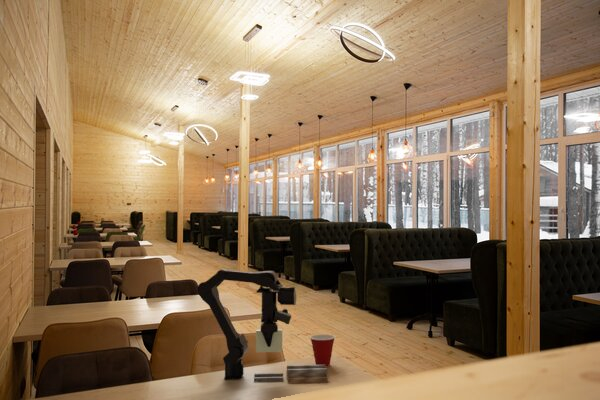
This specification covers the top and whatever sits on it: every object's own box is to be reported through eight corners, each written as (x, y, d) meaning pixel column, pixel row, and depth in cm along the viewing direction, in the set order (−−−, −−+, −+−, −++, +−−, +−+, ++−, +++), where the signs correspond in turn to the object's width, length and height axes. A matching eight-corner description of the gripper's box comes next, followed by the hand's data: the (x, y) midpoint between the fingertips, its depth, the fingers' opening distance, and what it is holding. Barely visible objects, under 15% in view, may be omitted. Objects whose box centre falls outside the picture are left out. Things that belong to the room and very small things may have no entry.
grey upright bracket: (253, 381, 168) (253, 378, 169) (254, 376, 174) (254, 373, 174) (283, 380, 169) (283, 377, 169) (282, 375, 175) (282, 372, 175)
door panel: (255, 352, 170) (255, 330, 171) (255, 350, 173) (256, 329, 173) (282, 351, 171) (282, 330, 172) (282, 350, 174) (282, 328, 174)
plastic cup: (328, 359, 195) (328, 331, 196) (340, 367, 185) (340, 337, 186) (305, 362, 191) (305, 333, 192) (316, 370, 181) (316, 340, 182)
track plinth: (287, 382, 167) (287, 372, 167) (286, 373, 177) (286, 363, 177) (327, 381, 168) (327, 371, 168) (324, 372, 178) (324, 362, 178)
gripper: (291, 308, 164) (291, 352, 163) (288, 299, 183) (288, 338, 182) (260, 309, 163) (260, 352, 163) (261, 300, 182) (261, 339, 181)
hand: (268, 345), depth 172 cm, fingers closed on door panel, 2 cm apart
